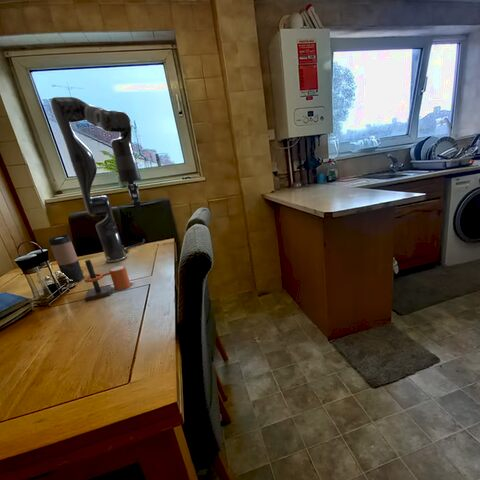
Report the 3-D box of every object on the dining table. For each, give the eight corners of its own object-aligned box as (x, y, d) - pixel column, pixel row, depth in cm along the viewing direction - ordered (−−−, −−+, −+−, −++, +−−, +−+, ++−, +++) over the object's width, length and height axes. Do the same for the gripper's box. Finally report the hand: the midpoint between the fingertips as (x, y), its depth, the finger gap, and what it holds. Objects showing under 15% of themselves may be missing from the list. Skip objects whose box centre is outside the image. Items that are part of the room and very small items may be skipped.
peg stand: (89, 293, 109) (77, 259, 104) (111, 287, 112) (100, 255, 107) (86, 301, 102) (72, 266, 97) (109, 295, 105) (98, 261, 100)
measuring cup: (128, 282, 116) (123, 264, 113) (132, 286, 111) (126, 267, 108) (89, 294, 108) (82, 275, 105) (91, 299, 103) (84, 280, 100)
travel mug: (88, 275, 129) (73, 234, 122) (76, 283, 122) (59, 239, 115) (73, 276, 130) (57, 235, 123) (60, 283, 123) (43, 240, 116)
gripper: (118, 169, 113) (129, 209, 119) (116, 169, 101) (128, 213, 107) (138, 167, 116) (147, 206, 122) (138, 166, 103) (148, 210, 109)
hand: (138, 209), depth 114 cm, fingers open, 8 cm apart
